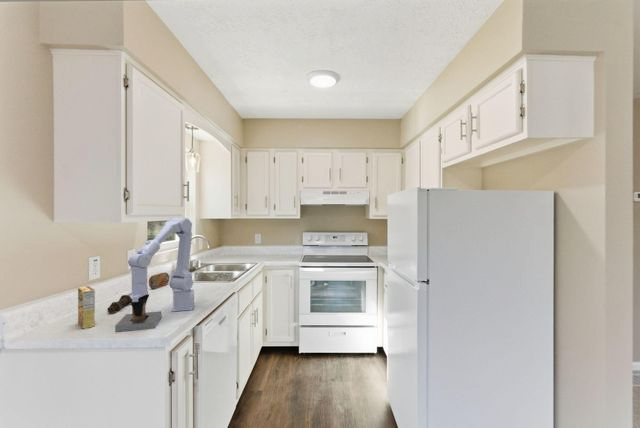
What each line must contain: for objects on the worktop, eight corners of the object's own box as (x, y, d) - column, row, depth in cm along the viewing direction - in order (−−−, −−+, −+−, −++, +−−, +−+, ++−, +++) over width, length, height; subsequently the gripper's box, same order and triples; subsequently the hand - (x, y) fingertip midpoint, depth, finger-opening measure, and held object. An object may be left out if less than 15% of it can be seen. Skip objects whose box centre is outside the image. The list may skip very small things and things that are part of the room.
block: (145, 318, 134) (145, 302, 134) (143, 322, 130) (143, 305, 130) (135, 319, 133) (134, 303, 133) (132, 323, 129) (132, 306, 129)
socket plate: (161, 316, 141) (161, 311, 141) (154, 328, 127) (154, 322, 127) (126, 320, 137) (126, 314, 136) (115, 332, 123) (115, 325, 123)
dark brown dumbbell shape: (108, 318, 144) (124, 307, 159) (118, 312, 145) (134, 302, 160) (101, 307, 144) (118, 297, 158) (111, 302, 144) (127, 292, 159)
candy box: (77, 324, 132) (77, 287, 132) (89, 321, 135) (89, 285, 135) (82, 329, 126) (82, 291, 126) (95, 326, 129) (95, 289, 129)
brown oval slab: (152, 290, 187) (152, 276, 187) (147, 290, 188) (147, 276, 187) (169, 284, 202) (169, 271, 201) (165, 284, 202) (165, 271, 202)
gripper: (133, 279, 137) (133, 309, 138) (123, 286, 123) (123, 321, 124) (151, 278, 139) (151, 308, 140) (143, 285, 126) (143, 319, 126)
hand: (139, 314), depth 132 cm, fingers closed on block, 4 cm apart
